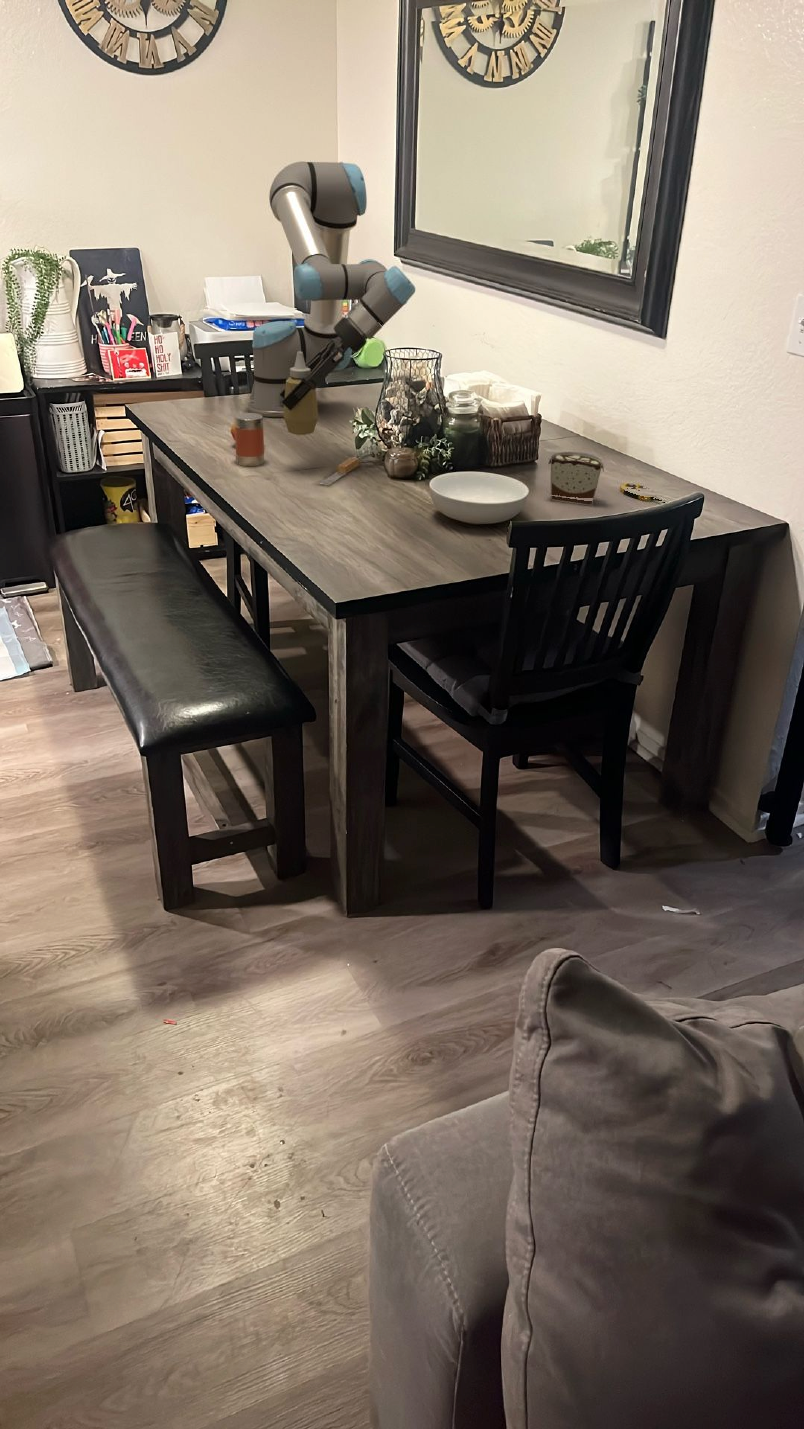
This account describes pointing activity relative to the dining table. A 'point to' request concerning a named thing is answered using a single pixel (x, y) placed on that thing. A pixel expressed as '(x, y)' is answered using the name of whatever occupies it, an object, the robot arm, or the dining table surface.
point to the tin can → (249, 439)
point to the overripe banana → (635, 494)
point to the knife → (341, 471)
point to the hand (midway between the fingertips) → (285, 402)
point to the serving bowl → (478, 496)
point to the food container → (574, 476)
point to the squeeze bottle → (300, 402)
